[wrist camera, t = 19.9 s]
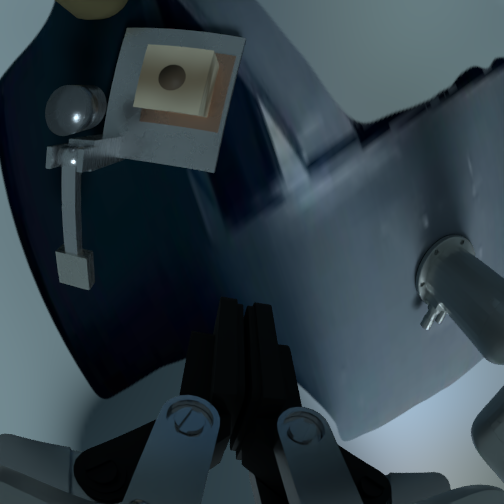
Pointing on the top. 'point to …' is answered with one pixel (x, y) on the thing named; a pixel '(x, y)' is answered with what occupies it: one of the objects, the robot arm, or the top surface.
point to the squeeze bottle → (93, 8)
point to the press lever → (73, 175)
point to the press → (160, 122)
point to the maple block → (177, 80)
